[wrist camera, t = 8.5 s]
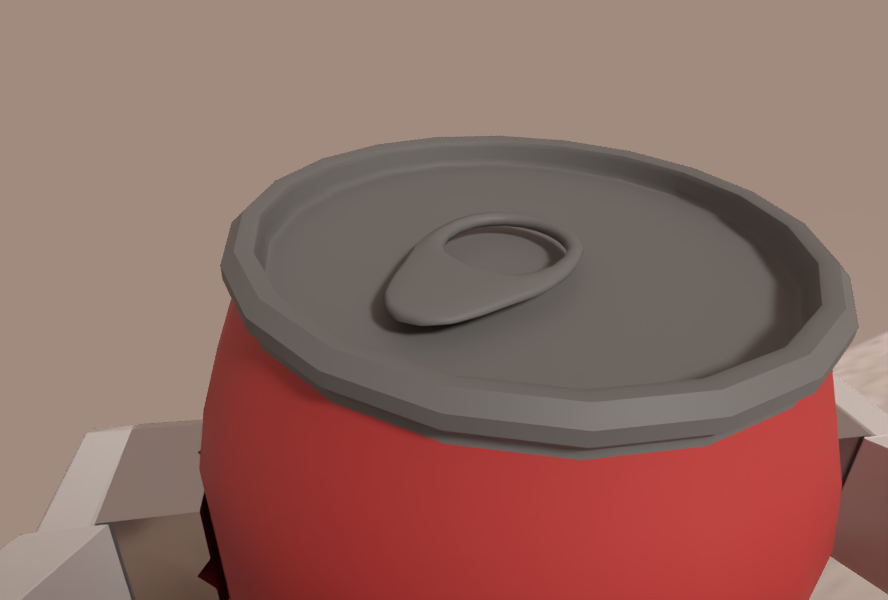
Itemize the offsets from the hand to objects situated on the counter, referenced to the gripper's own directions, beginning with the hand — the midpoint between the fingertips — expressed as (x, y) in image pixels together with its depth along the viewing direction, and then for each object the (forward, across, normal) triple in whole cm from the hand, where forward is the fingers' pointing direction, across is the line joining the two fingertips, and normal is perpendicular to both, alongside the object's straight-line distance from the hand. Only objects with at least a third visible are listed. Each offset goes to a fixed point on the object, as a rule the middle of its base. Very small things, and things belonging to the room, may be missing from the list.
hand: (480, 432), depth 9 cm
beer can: (0, 0, +9) cm, 9 cm away
